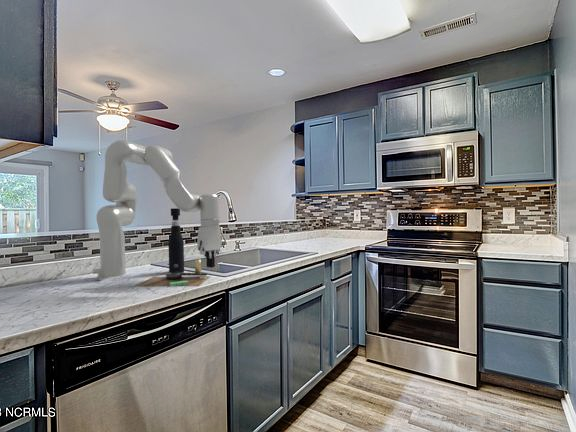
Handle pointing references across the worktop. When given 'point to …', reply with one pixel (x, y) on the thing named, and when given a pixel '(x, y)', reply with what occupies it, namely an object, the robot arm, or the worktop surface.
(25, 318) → the worktop surface
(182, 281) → the board
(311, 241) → the worktop surface
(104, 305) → the worktop surface
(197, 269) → the tuning dial
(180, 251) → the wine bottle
